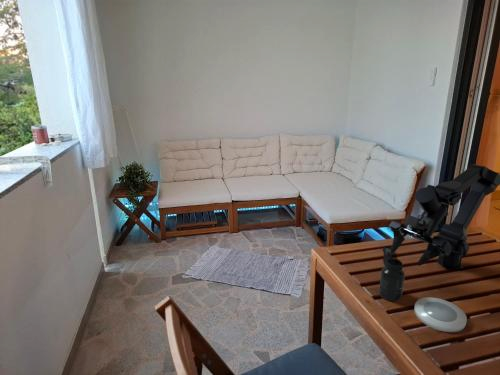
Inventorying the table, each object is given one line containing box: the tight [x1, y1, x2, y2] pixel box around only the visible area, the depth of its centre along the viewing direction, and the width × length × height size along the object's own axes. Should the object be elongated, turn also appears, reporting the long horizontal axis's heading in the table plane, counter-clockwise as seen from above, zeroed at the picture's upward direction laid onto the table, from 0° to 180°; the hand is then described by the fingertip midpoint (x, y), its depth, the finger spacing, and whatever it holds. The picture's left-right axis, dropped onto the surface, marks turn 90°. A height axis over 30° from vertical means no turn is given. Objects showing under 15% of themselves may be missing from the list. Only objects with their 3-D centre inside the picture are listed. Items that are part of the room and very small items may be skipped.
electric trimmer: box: [382, 245, 394, 266], centre depth 123 cm, size 4×16×3 cm, turn 159°
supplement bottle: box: [378, 258, 406, 302], centre depth 102 cm, size 7×7×12 cm
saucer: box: [413, 297, 468, 333], centre depth 93 cm, size 13×13×2 cm
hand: (404, 258), depth 102 cm, fingers open, 9 cm apart
